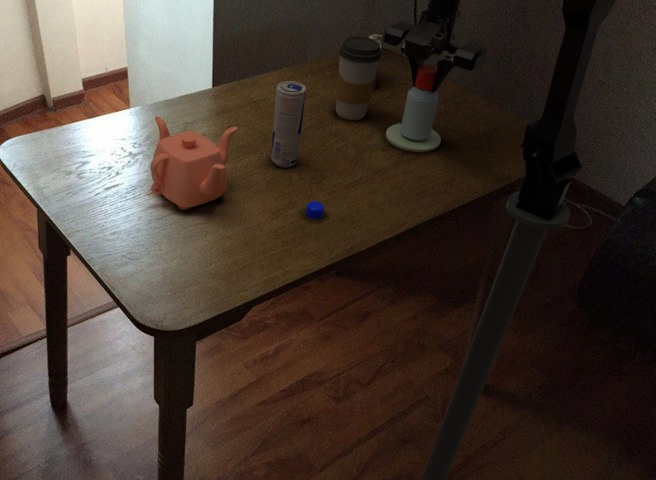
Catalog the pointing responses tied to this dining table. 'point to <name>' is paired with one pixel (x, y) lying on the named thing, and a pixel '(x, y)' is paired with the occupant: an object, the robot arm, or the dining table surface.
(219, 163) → the teapot
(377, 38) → the flask
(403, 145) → the coaster
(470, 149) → the dining table surface
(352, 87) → the coffee cup
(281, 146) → the beverage can
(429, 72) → the cap
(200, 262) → the dining table surface
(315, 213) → the bottle cap
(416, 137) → the bottle
